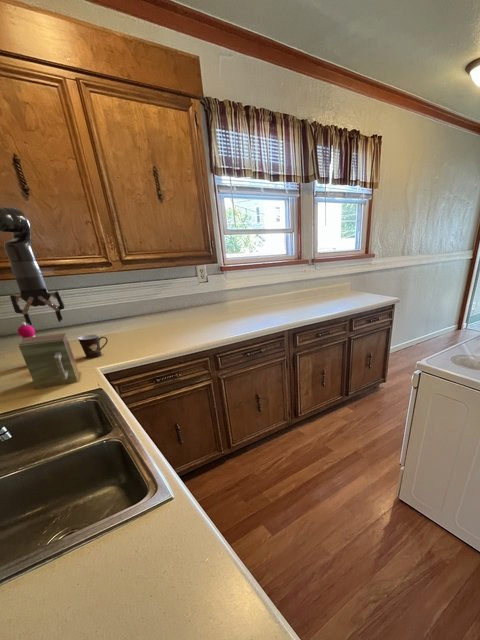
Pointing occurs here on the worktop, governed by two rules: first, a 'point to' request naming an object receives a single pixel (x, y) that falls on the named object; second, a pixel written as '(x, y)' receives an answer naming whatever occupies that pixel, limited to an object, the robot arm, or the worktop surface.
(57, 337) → the cupboard
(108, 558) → the worktop surface
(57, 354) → the cupboard door
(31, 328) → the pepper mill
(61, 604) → the worktop surface
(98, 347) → the coffee mug
